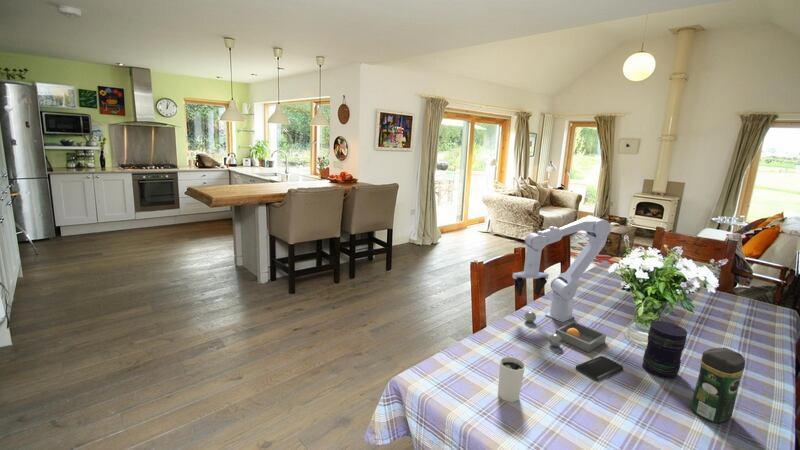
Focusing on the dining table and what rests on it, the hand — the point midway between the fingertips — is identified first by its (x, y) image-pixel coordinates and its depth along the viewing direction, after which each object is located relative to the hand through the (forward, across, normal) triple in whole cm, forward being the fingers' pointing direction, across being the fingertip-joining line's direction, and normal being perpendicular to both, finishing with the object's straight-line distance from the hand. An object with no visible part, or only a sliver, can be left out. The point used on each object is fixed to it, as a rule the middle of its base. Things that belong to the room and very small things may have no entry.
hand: (528, 295), depth 158 cm
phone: (+10, +7, -38) cm, 40 cm away
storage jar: (+10, +27, -40) cm, 49 cm away
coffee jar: (+10, +24, -60) cm, 65 cm away
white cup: (+10, -29, -48) cm, 57 cm away
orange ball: (+7, +8, -20) cm, 23 cm away
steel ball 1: (+7, -1, -5) cm, 9 cm away
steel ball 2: (+7, 0, -23) cm, 24 cm away
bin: (+9, +12, -20) cm, 25 cm away
